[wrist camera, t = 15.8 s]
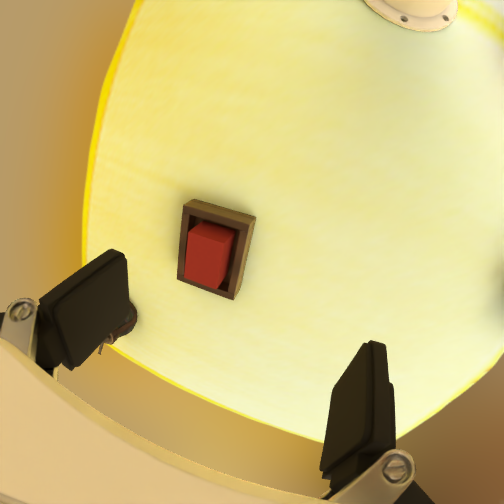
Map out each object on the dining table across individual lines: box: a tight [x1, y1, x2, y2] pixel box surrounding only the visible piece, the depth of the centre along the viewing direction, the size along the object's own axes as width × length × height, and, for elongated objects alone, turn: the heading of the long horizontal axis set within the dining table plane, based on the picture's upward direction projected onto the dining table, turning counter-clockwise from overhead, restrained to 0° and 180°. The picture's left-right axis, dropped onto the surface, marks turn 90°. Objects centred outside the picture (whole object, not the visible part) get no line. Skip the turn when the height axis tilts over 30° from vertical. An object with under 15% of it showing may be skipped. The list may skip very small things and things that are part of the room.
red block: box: [184, 221, 236, 289], centre depth 35 cm, size 6×4×4 cm
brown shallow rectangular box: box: [177, 199, 256, 300], centre depth 36 cm, size 11×8×3 cm
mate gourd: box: [98, 301, 137, 354], centre depth 45 cm, size 7×8×10 cm
